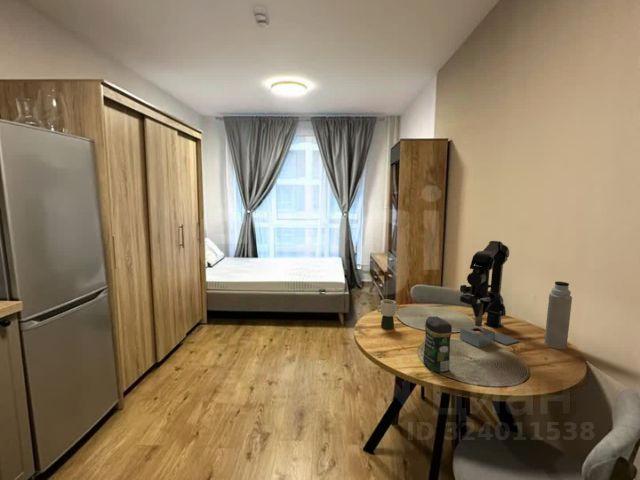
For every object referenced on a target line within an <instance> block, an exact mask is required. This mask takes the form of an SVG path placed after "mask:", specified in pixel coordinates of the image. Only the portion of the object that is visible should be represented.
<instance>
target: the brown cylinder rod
mask: <svg viewBox="0 0 640 480" xmlns="http://www.w3.org/2000/svg"><path fill="white" fill-rule="evenodd" d="M483 316H484V315H483V303H482V307H481V310H480V313H479V315H478V317H475V316H474V319H475V320H474V325H475V326H479V327H483Z"/></svg>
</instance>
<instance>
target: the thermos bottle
mask: <svg viewBox="0 0 640 480" xmlns="http://www.w3.org/2000/svg"><path fill="white" fill-rule="evenodd" d="M569 286H570V283H569V282H566V281H554V286H553V288H551V290H550V291H551V292H550V293H548V304H547V313H546V325H545V334H544V345H546V346H547V347H549V348H552V349H557V350H566V349H567V348H568V338H569V330H570V320H571V311H572V304H573V303H572V301H573V297H572V296H571V294H572V293H571V290H569Z"/></svg>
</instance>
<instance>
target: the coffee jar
mask: <svg viewBox="0 0 640 480" xmlns="http://www.w3.org/2000/svg"><path fill="white" fill-rule="evenodd" d="M452 330H453V329H452V324H451V323H449V322H448V321H446V319H443V318H441V317H439V316H437V315H436V316H428V317H427V318H426V320H425V324H424V331H425V332H424V333H425V337H424V338H425V339H424V350H423V360H422V362H423V364H424V365H425V366H426V367H427V368H428V369H429V370H431V372H435V373H445V372H447V371H449V370H450V362H451V361H450V360H451V359H450V352H451V350H450V349H451V336H452V333H453V331H452Z"/></svg>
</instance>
